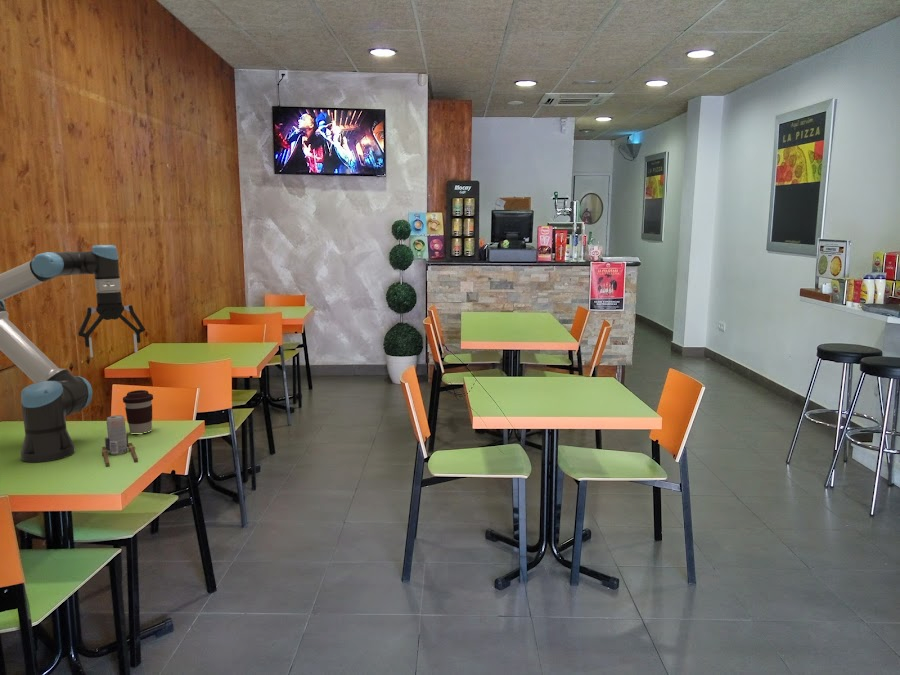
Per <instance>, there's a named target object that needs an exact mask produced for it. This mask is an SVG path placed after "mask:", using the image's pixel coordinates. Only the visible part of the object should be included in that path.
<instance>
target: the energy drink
mask: <svg viewBox="0 0 900 675" xmlns="http://www.w3.org/2000/svg"><path fill="white" fill-rule="evenodd" d="M124 416H125V415H121V414H120V415H119V414H117V415H111V416H108V417H106V430H107V431H106V432H107V437H108V443H109V450H108V454H109V455H111V456H120V455H124V454H126V453H127V452H128V451H129V449H128V448H127V439H126V435H127V429H126V419H125V417H124Z"/></svg>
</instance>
